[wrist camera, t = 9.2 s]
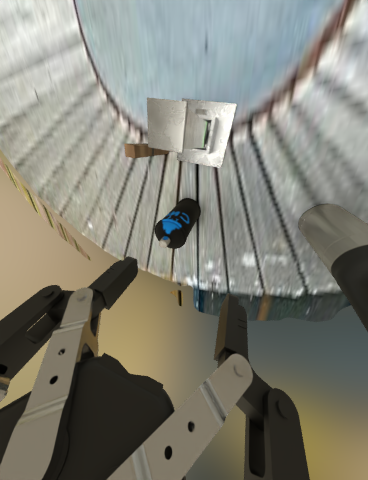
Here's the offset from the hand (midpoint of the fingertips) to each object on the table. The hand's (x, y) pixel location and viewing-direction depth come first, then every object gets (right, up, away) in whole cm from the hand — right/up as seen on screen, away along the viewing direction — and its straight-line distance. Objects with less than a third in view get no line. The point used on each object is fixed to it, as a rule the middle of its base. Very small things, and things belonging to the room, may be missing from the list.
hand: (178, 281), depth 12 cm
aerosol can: (+2, +13, +35) cm, 37 cm away
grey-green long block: (+3, +25, +17) cm, 30 cm away
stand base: (+5, +29, +23) cm, 37 cm away
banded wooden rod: (-5, +28, +27) cm, 39 cm away
